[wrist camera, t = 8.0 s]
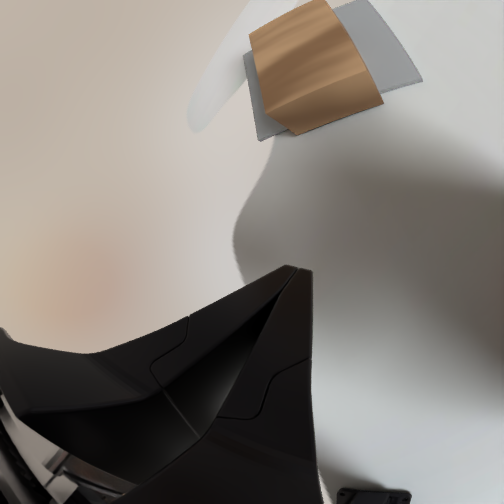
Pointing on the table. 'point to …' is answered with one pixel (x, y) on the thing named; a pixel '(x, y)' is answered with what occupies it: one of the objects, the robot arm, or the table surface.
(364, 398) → the table surface
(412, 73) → the mat
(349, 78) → the walnut block
